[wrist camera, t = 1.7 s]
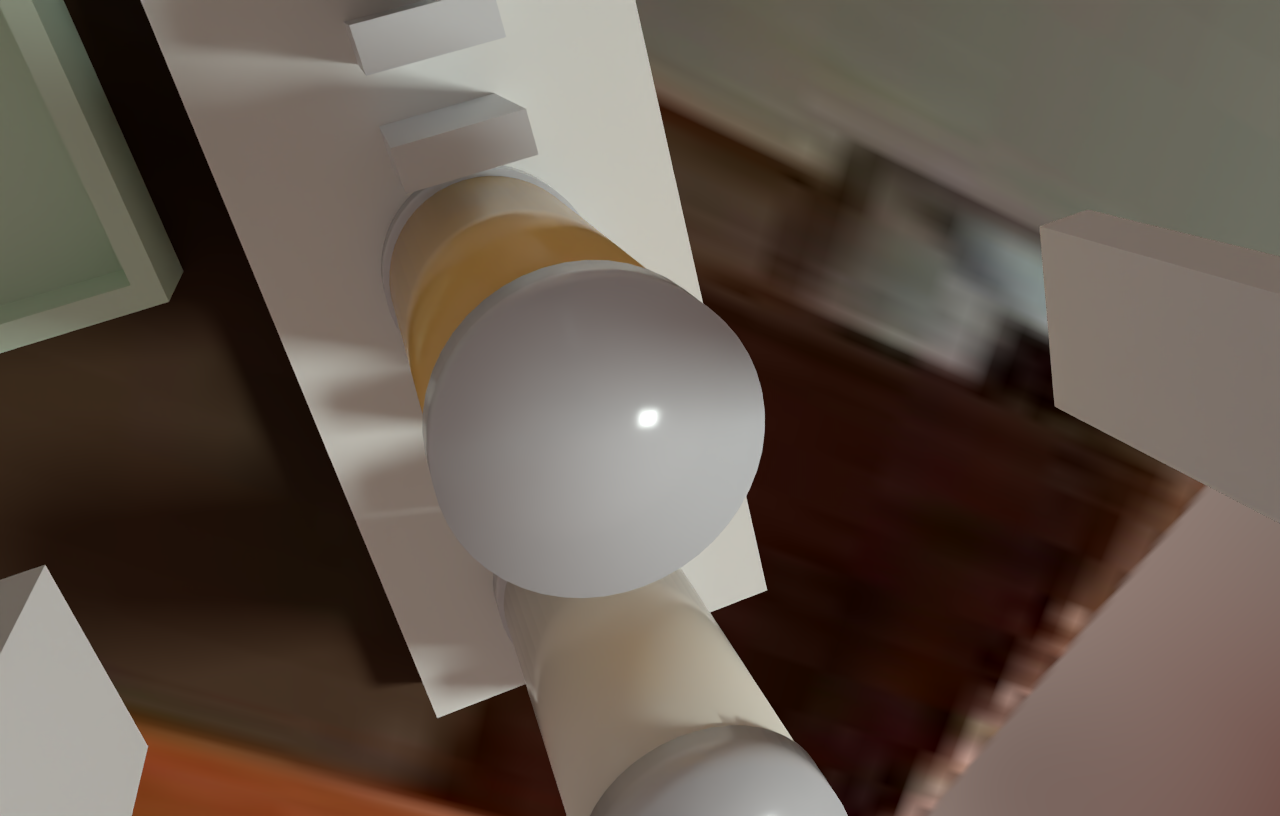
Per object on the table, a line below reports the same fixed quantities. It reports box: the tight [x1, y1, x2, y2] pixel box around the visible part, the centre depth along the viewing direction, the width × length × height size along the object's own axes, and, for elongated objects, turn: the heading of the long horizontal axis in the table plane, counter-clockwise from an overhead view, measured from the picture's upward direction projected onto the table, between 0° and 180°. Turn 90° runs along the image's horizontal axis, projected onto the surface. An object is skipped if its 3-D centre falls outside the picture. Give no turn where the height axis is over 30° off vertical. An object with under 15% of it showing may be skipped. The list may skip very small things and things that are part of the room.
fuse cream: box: [493, 568, 847, 816], centre depth 21 cm, size 4×4×10 cm
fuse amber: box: [381, 165, 765, 598], centre depth 18 cm, size 4×4×10 cm
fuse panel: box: [141, 0, 767, 718], centre depth 21 cm, size 22×9×5 cm, turn 14°
